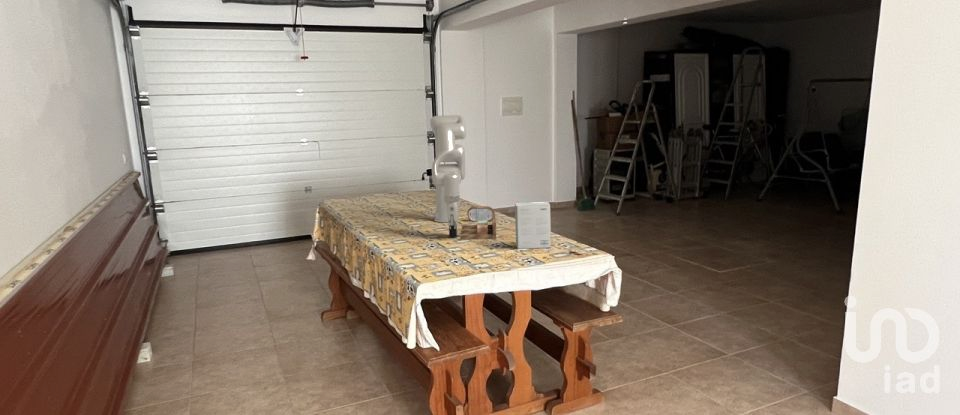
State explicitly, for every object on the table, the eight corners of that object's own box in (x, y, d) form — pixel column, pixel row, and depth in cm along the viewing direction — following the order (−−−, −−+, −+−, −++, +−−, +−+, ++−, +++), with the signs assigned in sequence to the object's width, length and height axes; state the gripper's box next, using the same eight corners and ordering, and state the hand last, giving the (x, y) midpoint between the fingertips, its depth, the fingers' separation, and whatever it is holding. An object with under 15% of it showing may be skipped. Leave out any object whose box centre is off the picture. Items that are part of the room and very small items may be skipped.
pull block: (449, 238, 288) (448, 226, 287) (449, 235, 293) (449, 224, 292) (487, 237, 288) (487, 225, 287) (487, 234, 293) (487, 223, 292)
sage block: (477, 232, 299) (477, 222, 298) (478, 230, 304) (477, 220, 303) (487, 232, 299) (487, 222, 298) (487, 230, 304) (487, 220, 303)
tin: (494, 220, 326) (494, 205, 324) (494, 222, 322) (494, 206, 321) (467, 220, 327) (467, 206, 325) (467, 222, 324) (466, 207, 322)
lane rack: (460, 239, 285) (459, 223, 283) (461, 228, 307) (461, 214, 306) (496, 238, 284) (495, 222, 283) (495, 228, 307) (494, 213, 305)
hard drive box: (548, 243, 273) (548, 201, 269) (551, 248, 265) (551, 204, 261) (515, 244, 272) (514, 202, 268) (516, 249, 265) (516, 205, 261)
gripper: (459, 202, 279) (460, 239, 282) (460, 196, 295) (461, 231, 299) (443, 202, 279) (444, 239, 282) (445, 196, 295) (446, 232, 299)
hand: (453, 235), depth 290 cm, fingers closed on pull block, 4 cm apart
